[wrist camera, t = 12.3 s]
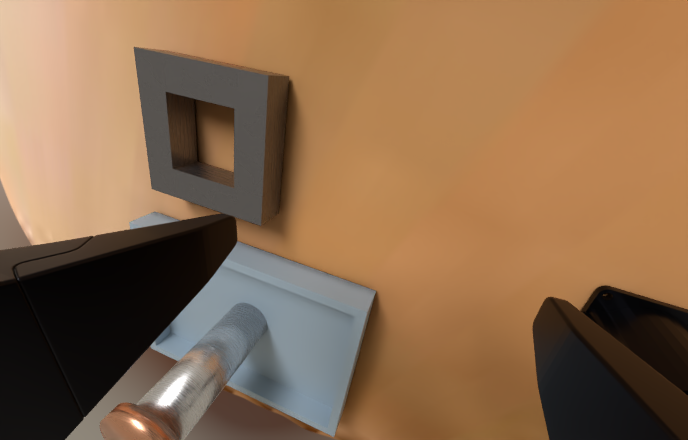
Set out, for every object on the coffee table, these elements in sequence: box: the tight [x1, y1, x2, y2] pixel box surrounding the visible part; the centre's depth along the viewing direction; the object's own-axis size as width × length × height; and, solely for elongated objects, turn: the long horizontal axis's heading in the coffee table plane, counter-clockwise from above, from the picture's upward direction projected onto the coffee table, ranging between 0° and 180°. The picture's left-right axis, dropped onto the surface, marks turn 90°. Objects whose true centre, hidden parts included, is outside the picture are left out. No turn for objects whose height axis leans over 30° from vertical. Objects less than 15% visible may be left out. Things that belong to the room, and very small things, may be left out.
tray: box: [129, 212, 376, 437], centre depth 29 cm, size 22×16×3 cm
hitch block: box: [134, 47, 289, 226], centre depth 22 cm, size 10×10×2 cm
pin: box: [100, 303, 267, 440], centre depth 24 cm, size 6×6×12 cm
